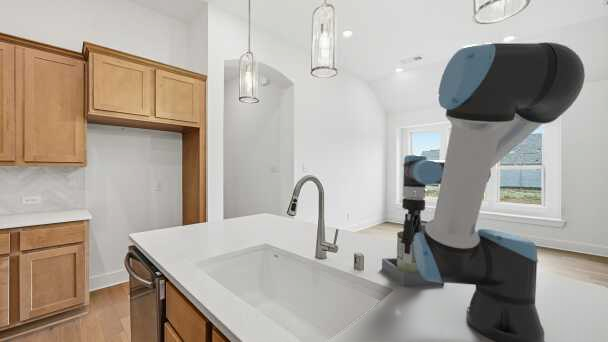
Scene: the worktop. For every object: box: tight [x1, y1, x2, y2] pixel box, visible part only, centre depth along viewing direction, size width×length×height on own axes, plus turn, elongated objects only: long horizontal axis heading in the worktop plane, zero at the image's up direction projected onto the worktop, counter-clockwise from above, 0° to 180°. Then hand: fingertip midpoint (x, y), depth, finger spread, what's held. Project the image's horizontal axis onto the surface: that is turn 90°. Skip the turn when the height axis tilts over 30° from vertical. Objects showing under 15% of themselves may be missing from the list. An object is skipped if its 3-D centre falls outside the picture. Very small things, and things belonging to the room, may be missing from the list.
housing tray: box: [381, 257, 445, 287], centre depth 96 cm, size 15×15×4 cm
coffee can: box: [396, 231, 419, 273], centre depth 95 cm, size 10×10×14 cm
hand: (411, 257), depth 96 cm, fingers open, 13 cm apart
